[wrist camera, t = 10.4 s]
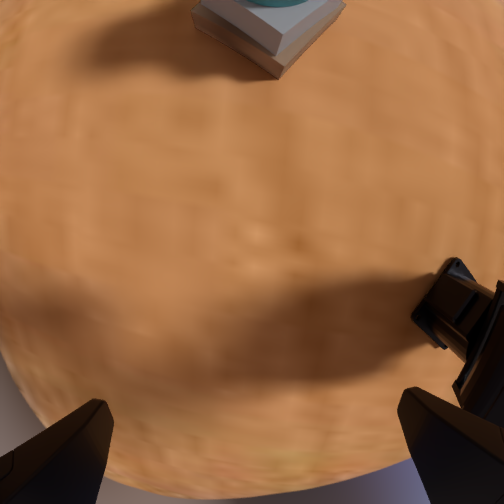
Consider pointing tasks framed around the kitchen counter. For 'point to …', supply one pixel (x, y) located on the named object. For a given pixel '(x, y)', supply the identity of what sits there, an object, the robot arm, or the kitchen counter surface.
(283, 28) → the tower top
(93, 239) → the kitchen counter surface
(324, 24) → the tower base
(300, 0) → the teal domed cylinder
